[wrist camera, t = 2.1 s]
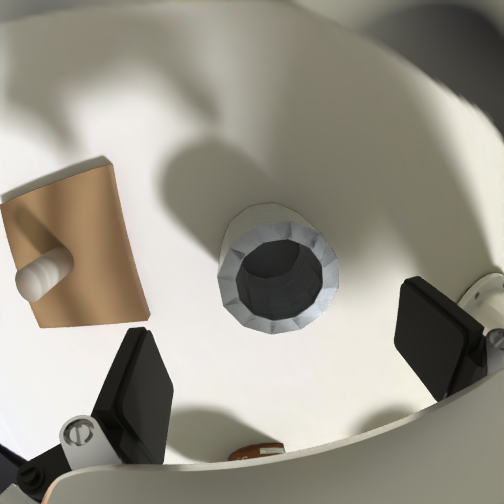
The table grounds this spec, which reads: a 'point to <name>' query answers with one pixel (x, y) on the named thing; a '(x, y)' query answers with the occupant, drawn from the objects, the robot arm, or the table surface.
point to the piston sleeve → (280, 287)
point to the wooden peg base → (75, 252)
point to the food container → (257, 451)
